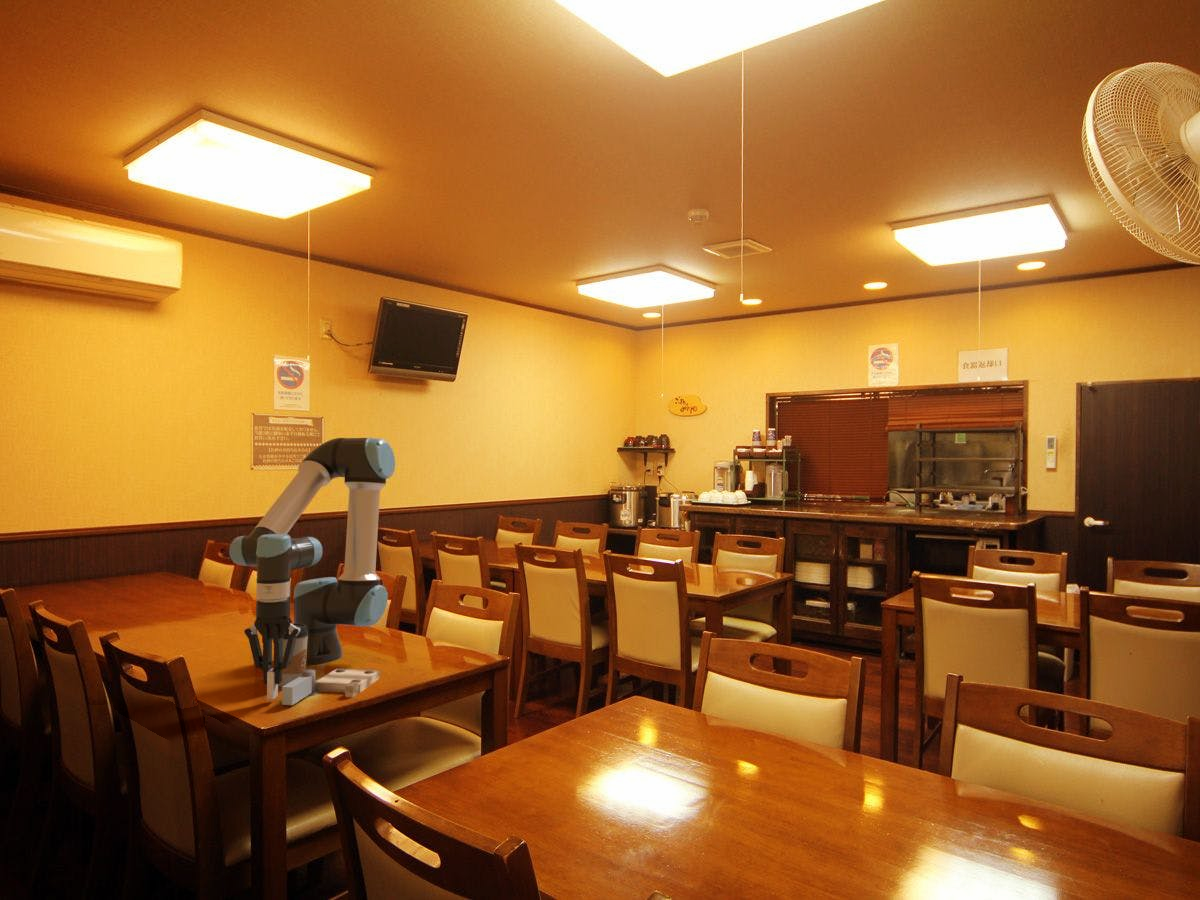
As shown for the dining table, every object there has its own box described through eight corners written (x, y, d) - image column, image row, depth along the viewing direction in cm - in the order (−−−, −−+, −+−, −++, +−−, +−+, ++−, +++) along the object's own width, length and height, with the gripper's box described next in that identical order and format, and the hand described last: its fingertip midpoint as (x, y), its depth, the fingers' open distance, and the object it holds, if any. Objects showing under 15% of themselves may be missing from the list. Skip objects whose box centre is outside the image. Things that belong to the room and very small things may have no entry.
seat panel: (327, 677, 201) (327, 665, 201) (379, 679, 200) (379, 667, 200) (295, 697, 185) (295, 684, 185) (352, 700, 184) (352, 686, 184)
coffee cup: (295, 690, 190) (296, 631, 190) (266, 688, 192) (267, 629, 192) (314, 680, 198) (315, 623, 198) (286, 678, 200) (286, 622, 200)
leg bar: (305, 689, 189) (305, 669, 189) (317, 689, 189) (317, 669, 189) (280, 704, 177) (280, 683, 177) (293, 705, 177) (293, 684, 177)
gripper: (238, 602, 177) (237, 702, 177) (294, 602, 177) (293, 702, 177) (252, 595, 184) (251, 692, 184) (306, 596, 185) (305, 692, 185)
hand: (272, 697), depth 181 cm, fingers closed
